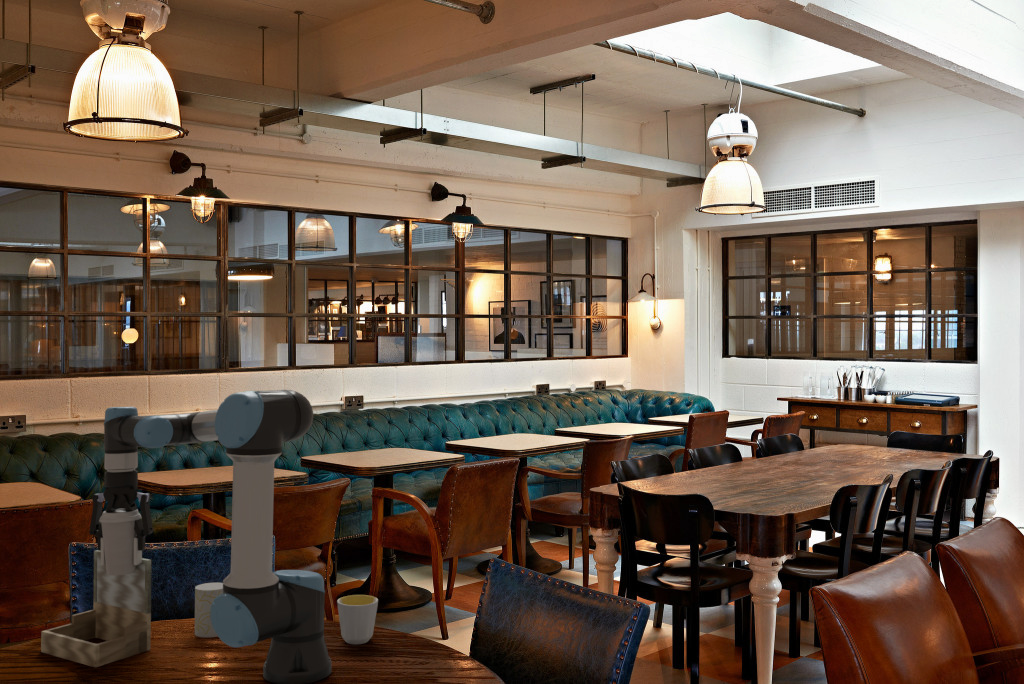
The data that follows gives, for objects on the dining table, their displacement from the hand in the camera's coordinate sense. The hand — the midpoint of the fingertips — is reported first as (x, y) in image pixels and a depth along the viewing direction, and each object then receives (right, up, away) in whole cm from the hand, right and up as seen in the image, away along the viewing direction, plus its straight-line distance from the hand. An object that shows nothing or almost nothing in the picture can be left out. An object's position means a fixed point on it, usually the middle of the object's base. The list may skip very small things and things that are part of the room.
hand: (121, 563), depth 226 cm
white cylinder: (+17, -22, +15) cm, 31 cm away
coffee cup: (0, -2, 0) cm, 2 cm away
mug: (+56, -22, +10) cm, 61 cm away
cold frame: (-6, -21, 0) cm, 22 cm away
